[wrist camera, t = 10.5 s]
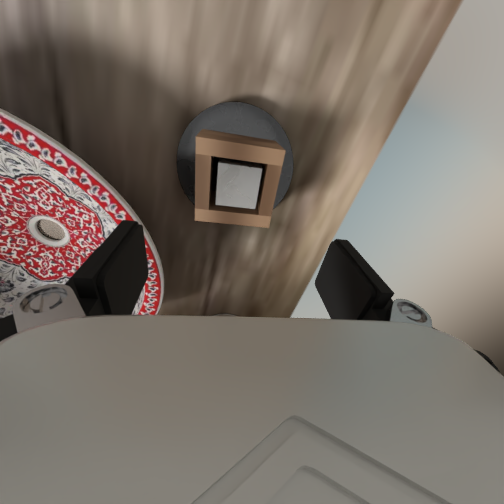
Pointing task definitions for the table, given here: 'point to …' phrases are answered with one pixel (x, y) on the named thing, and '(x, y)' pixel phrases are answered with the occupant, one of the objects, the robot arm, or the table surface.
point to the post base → (232, 125)
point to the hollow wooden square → (238, 149)
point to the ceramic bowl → (56, 216)
